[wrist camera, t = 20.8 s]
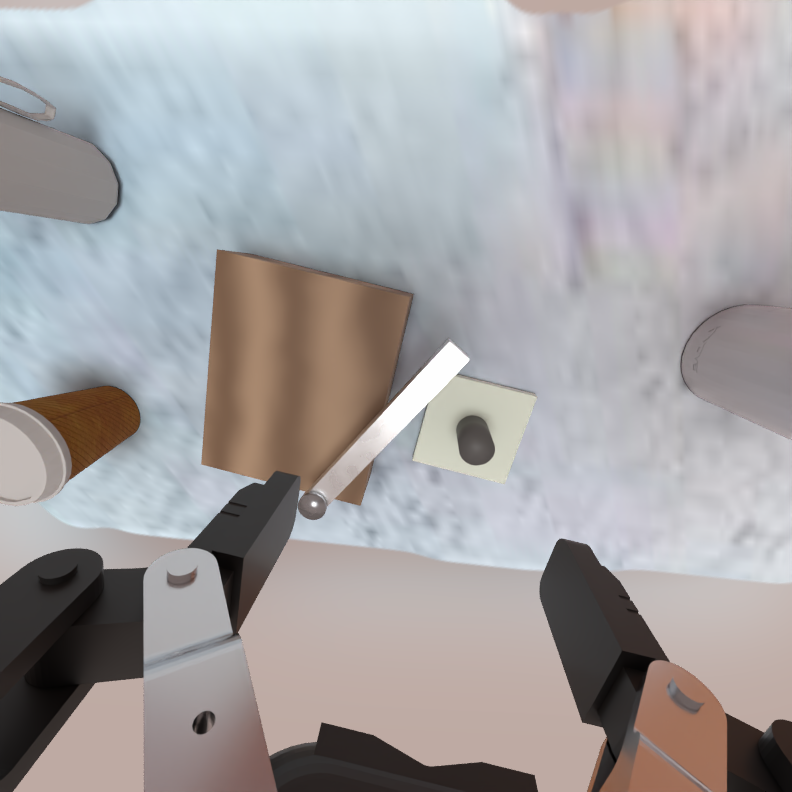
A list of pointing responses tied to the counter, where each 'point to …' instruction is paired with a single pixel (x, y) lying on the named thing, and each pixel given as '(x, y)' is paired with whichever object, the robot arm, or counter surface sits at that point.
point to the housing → (296, 367)
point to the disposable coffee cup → (59, 439)
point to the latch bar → (383, 428)
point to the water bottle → (51, 169)
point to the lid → (474, 428)
